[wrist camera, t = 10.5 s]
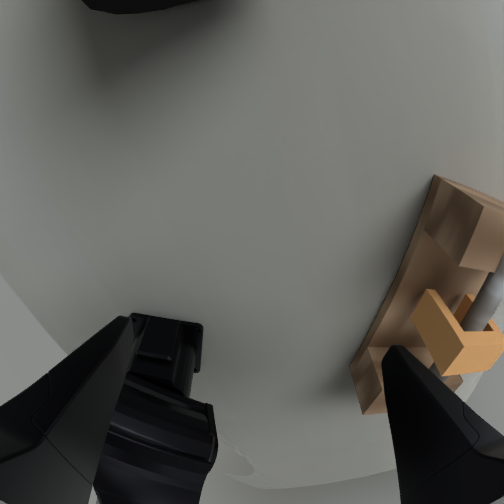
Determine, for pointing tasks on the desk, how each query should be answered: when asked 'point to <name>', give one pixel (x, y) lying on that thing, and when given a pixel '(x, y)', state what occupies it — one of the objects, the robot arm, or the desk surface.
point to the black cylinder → (132, 5)
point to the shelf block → (437, 281)
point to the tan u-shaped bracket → (455, 336)
